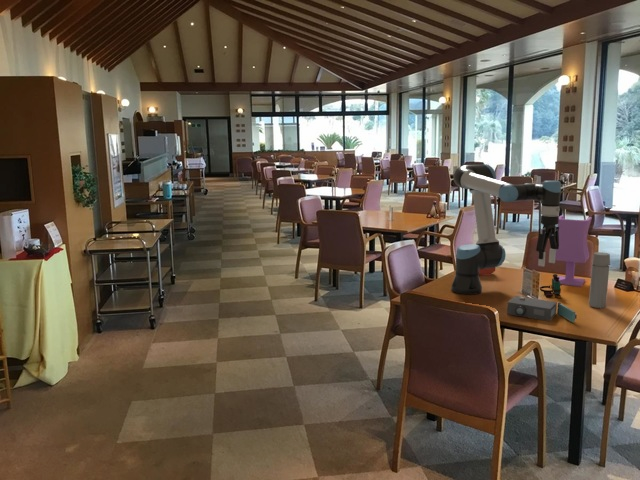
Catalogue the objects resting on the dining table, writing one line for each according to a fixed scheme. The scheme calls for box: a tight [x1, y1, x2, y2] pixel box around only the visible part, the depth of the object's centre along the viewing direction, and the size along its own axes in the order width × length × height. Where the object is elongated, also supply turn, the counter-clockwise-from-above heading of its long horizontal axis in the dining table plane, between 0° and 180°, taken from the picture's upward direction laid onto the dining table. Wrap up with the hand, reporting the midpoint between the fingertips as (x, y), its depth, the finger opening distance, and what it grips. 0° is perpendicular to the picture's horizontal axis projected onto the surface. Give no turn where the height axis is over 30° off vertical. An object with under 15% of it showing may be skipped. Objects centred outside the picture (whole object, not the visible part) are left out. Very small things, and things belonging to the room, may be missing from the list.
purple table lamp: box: [555, 215, 593, 288], centre depth 301 cm, size 16×16×35 cm
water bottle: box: [588, 251, 611, 309], centre depth 260 cm, size 9×8×25 cm
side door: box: [556, 301, 578, 323], centre depth 244 cm, size 2×13×5 cm, turn 5°
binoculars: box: [539, 273, 563, 299], centre depth 278 cm, size 9×11×10 cm
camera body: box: [506, 295, 558, 322], centre depth 250 cm, size 18×14×6 cm
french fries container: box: [479, 267, 496, 276], centre depth 322 cm, size 5×11×18 cm, turn 89°
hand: (546, 264), depth 257 cm, fingers open, 9 cm apart
